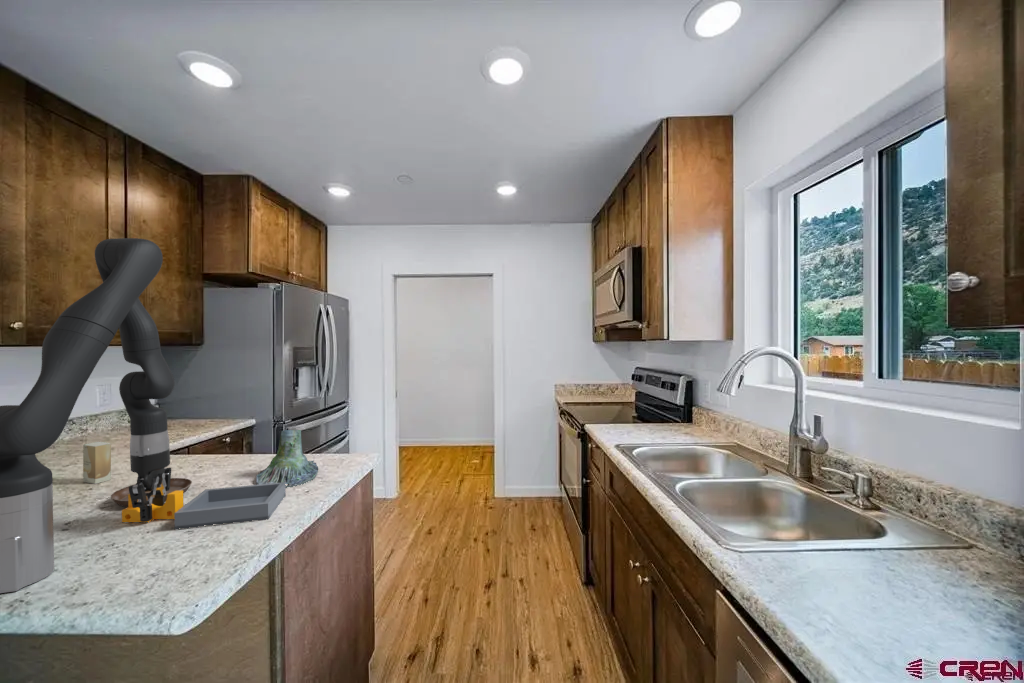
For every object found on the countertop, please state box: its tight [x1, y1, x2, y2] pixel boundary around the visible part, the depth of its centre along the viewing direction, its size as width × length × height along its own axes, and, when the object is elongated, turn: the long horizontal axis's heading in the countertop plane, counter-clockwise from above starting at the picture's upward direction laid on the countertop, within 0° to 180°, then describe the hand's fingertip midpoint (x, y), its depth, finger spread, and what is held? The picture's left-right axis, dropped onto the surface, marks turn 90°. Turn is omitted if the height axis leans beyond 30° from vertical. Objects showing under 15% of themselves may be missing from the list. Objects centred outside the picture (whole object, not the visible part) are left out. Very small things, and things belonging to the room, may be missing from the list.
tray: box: [174, 482, 287, 530], centre depth 108 cm, size 16×20×4 cm
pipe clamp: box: [121, 490, 185, 523], centre depth 104 cm, size 12×4×6 cm, turn 89°
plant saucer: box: [110, 477, 193, 508], centre depth 119 cm, size 18×18×3 cm
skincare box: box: [82, 441, 112, 484], centre depth 133 cm, size 6×4×12 cm
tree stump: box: [256, 429, 319, 489], centre depth 135 cm, size 18×20×18 cm
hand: (152, 515), depth 104 cm, fingers closed on pipe clamp, 5 cm apart
